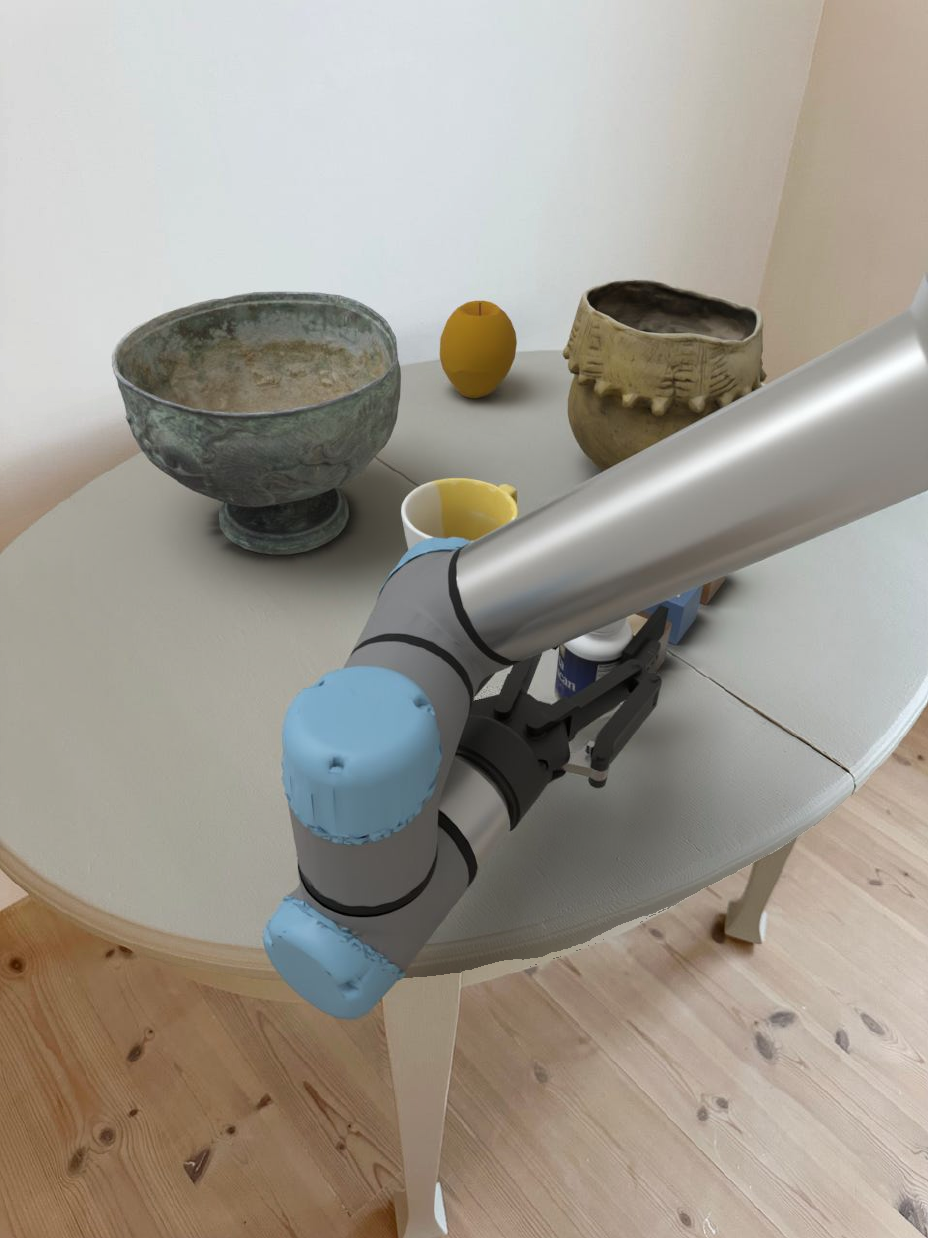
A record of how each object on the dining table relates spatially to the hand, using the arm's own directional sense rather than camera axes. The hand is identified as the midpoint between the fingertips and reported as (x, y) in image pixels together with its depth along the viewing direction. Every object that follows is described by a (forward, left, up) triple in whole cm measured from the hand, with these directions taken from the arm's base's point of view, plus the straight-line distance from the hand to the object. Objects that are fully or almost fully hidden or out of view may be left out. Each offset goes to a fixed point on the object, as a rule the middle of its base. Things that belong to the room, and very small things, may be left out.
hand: (626, 605), depth 76 cm
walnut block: (0, -3, -9) cm, 10 cm away
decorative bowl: (+40, -3, -9) cm, 41 cm away
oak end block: (0, -17, -9) cm, 20 cm away
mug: (+17, -4, -9) cm, 20 cm away
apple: (+39, -39, -9) cm, 56 cm away
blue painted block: (0, -10, -9) cm, 14 cm away
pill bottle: (0, +5, -6) cm, 8 cm away
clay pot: (+13, -34, -9) cm, 37 cm away
